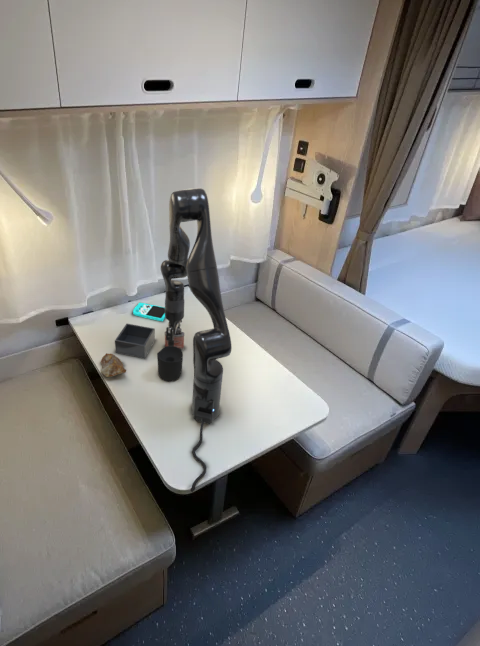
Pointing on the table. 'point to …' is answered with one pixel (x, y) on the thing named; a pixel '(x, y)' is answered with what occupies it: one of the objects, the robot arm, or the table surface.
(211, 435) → the table surface
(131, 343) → the grey square tray
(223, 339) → the robot arm
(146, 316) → the handheld game console
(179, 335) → the lighter
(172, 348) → the pen holder
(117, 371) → the decorative stone
